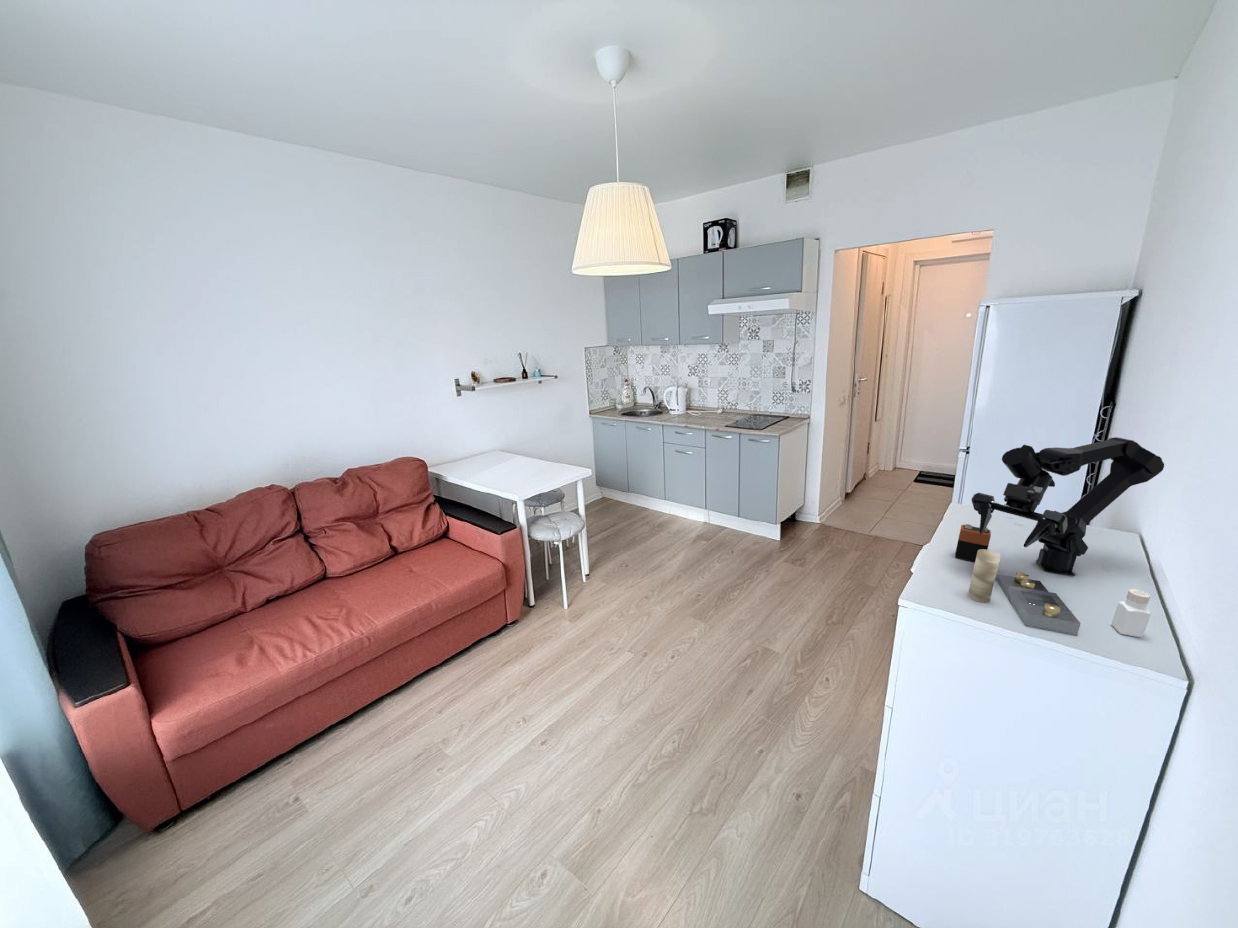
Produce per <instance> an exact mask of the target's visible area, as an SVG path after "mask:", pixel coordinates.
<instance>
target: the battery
mask: <svg viewBox="0 0 1238 928" xmlns="http://www.w3.org/2000/svg"><path fill="white" fill-rule="evenodd" d="M979 531H980V525H979V527H978V526H973V525H971V524H970V523H965V524H961V525H960V530H959V534H958V539H957V544H956V547H955V548H956V549H955V558H956V559H959V560H964V561H968V562H973V563H975V561H976V556H977V552H978V550H980V549H986V550H989V544H990V541H991V536H992V535H991V534H992V531H991V529H989V527H986V529H985V531H984V532H983V533H982V534H980V532H979Z"/></svg>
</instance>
